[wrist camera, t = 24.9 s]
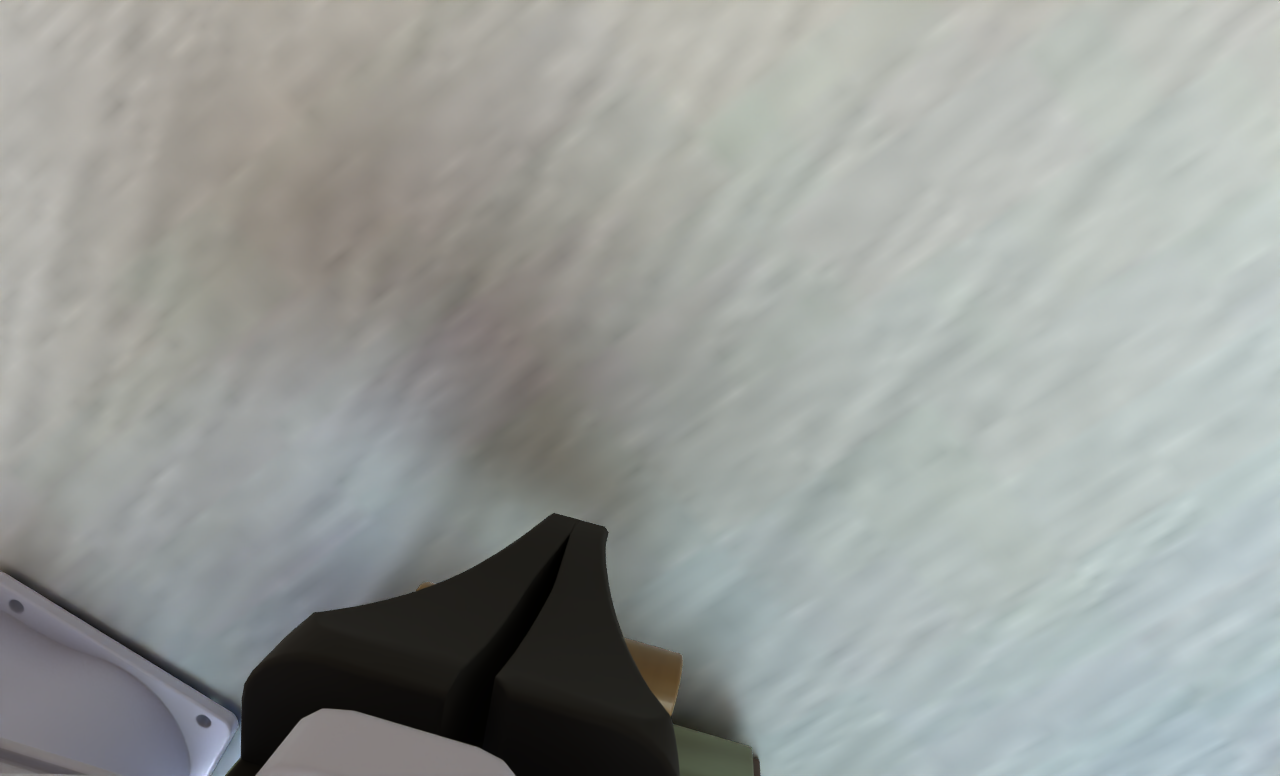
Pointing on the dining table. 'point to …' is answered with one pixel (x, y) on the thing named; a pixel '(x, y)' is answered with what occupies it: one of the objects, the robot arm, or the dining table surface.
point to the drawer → (706, 762)
